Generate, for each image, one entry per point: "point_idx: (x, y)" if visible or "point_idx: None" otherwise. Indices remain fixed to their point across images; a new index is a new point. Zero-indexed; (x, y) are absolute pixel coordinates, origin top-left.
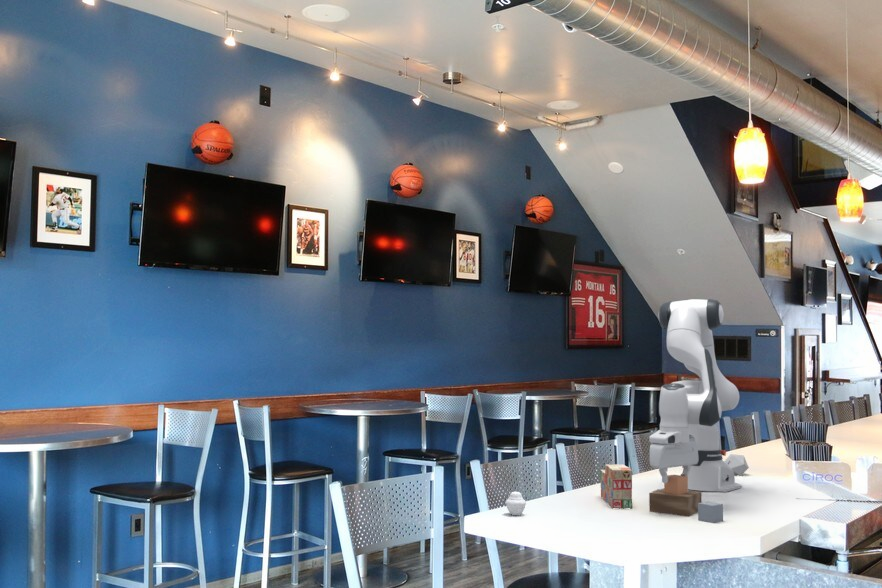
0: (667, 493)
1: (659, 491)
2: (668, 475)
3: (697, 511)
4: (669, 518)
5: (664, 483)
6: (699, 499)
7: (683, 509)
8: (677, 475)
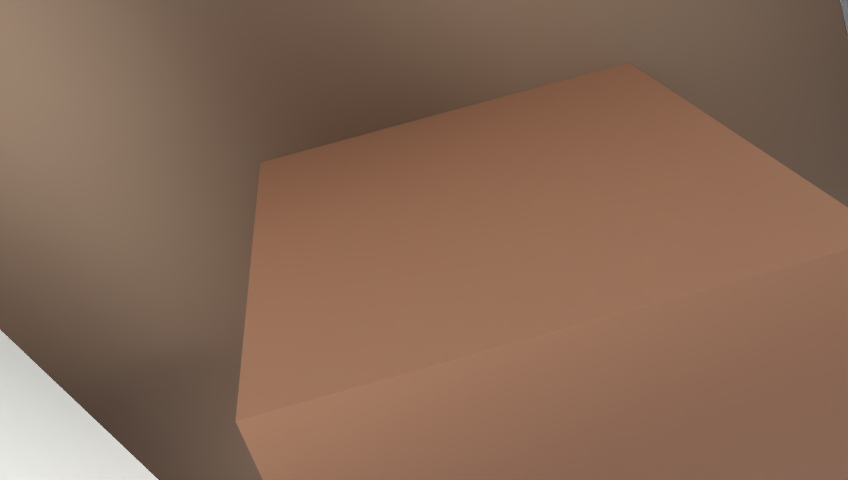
0: (233, 302)
1: (210, 22)
2: (494, 379)
3: None
4: (32, 465)
5: (255, 272)
6: None
7: None
8: (785, 451)
